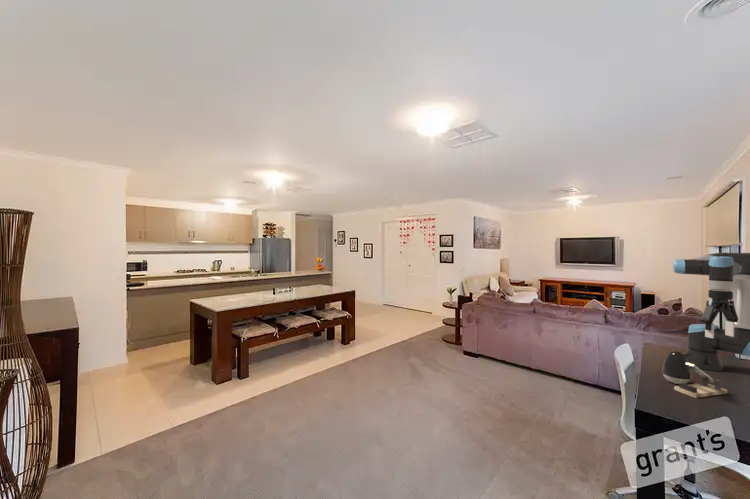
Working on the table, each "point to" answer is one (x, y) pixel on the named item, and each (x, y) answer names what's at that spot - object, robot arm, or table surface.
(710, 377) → the grey flat bar
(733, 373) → the table surface
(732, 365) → the table surface
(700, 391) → the mount
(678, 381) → the dark grey egg shape
